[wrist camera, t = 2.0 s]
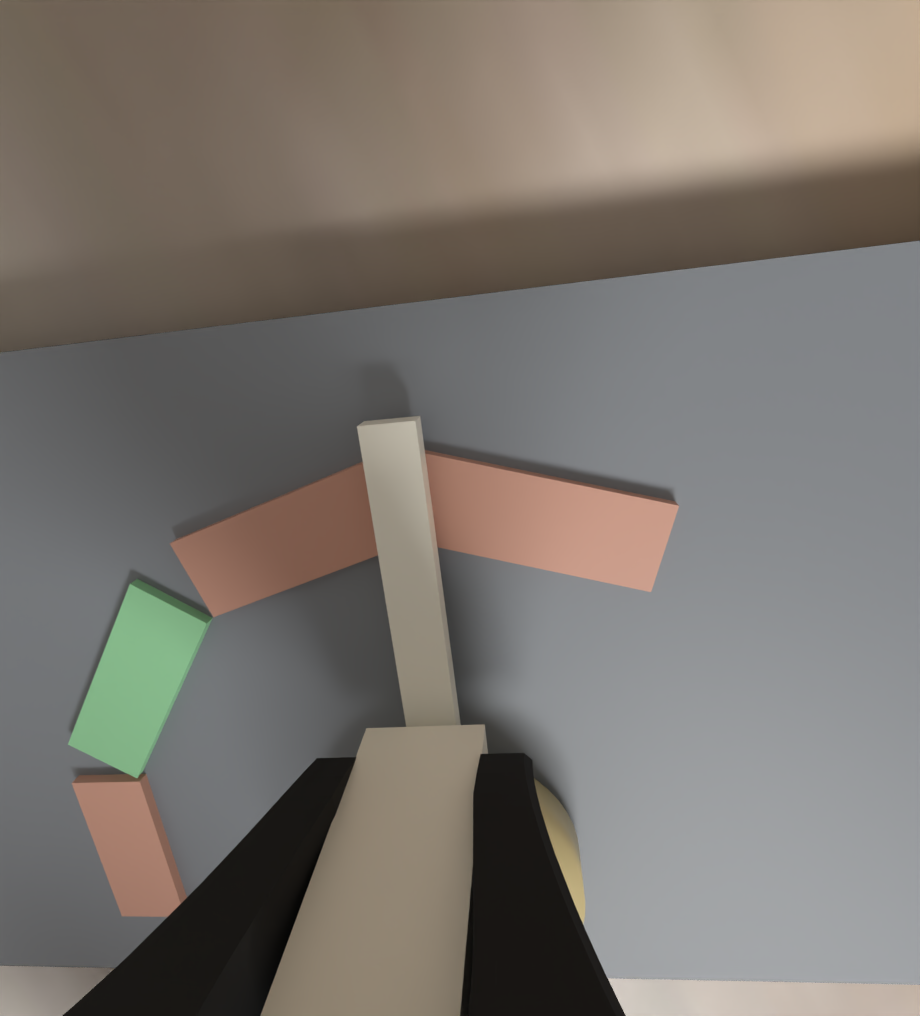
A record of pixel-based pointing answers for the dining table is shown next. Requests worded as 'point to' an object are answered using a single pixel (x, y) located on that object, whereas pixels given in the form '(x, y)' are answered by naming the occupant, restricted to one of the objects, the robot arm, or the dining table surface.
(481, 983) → the robot arm
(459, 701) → the tuner board
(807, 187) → the dining table surface
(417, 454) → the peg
